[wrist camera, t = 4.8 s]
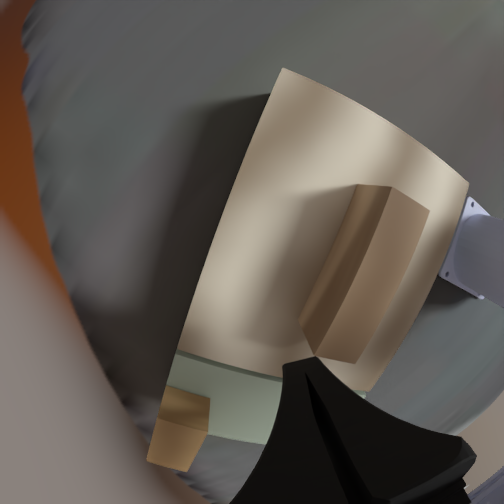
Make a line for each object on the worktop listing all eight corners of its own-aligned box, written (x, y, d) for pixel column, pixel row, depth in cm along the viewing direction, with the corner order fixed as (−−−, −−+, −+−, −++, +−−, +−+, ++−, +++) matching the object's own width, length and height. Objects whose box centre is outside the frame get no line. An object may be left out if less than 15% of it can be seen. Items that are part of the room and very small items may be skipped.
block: (210, 398, 16) (208, 432, 13) (190, 442, 17) (186, 472, 14) (166, 385, 16) (157, 417, 13) (153, 432, 17) (146, 460, 14)
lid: (459, 182, 14) (506, 188, 10) (364, 383, 18) (387, 422, 14) (279, 74, 12) (297, 36, 8) (179, 339, 16) (165, 388, 12)
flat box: (428, 177, 18) (469, 181, 13) (309, 411, 23) (321, 448, 19) (271, 92, 16) (283, 64, 11) (167, 379, 21) (156, 419, 16)
